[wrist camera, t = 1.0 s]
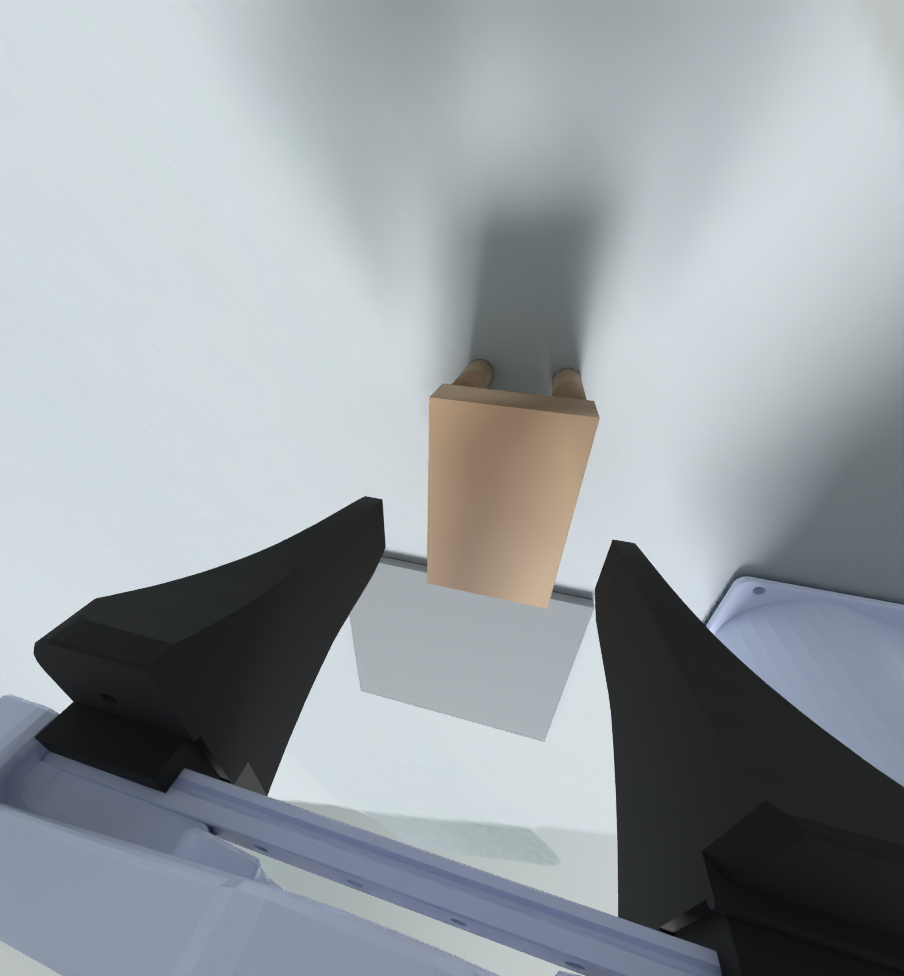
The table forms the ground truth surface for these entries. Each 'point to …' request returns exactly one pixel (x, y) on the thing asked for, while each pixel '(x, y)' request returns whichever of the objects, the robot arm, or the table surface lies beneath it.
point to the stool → (504, 483)
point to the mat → (465, 649)
